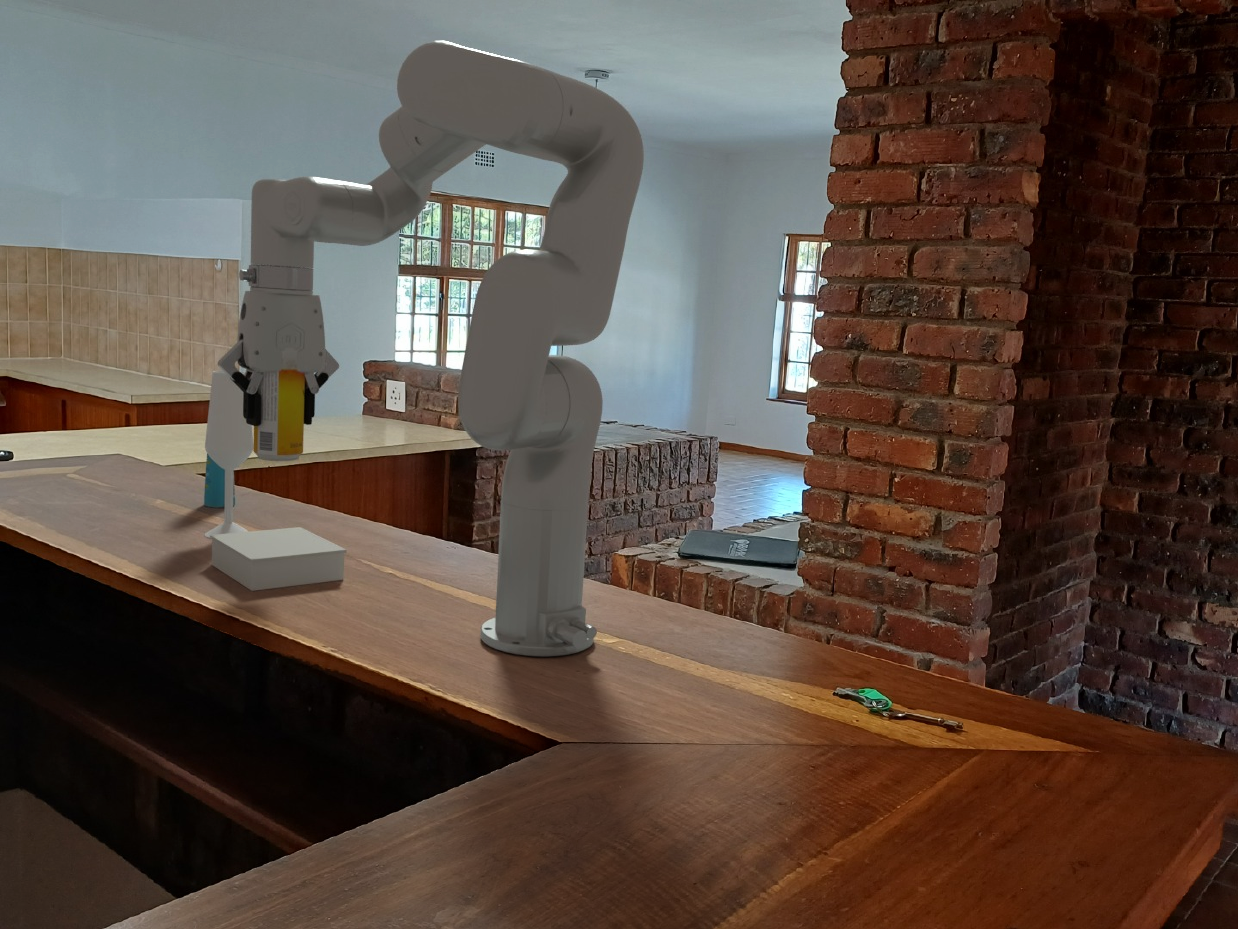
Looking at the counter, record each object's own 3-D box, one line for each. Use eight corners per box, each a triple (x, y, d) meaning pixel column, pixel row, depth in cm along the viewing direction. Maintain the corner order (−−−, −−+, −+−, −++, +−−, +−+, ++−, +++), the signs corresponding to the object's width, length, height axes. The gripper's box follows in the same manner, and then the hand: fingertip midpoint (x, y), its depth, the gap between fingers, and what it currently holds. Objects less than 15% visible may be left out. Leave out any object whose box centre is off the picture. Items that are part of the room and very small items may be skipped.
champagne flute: (202, 539, 157) (203, 373, 153) (206, 529, 163) (207, 369, 159) (251, 539, 158) (253, 375, 155) (253, 529, 165) (255, 371, 161)
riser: (345, 579, 141) (346, 549, 140) (251, 591, 133) (251, 559, 132) (299, 555, 151) (300, 527, 151) (209, 564, 144) (210, 535, 143)
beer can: (310, 456, 143) (312, 341, 140) (291, 463, 137) (294, 343, 134) (265, 453, 143) (267, 338, 141) (245, 459, 137) (246, 340, 135)
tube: (201, 501, 183) (201, 387, 180) (231, 500, 185) (232, 387, 182) (207, 510, 176) (208, 391, 173) (238, 509, 178) (240, 392, 176)
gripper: (223, 278, 128) (221, 429, 131) (359, 286, 139) (354, 426, 142) (201, 276, 134) (200, 421, 136) (333, 284, 145) (329, 419, 147)
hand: (279, 422), depth 139 cm, fingers closed on beer can, 6 cm apart
